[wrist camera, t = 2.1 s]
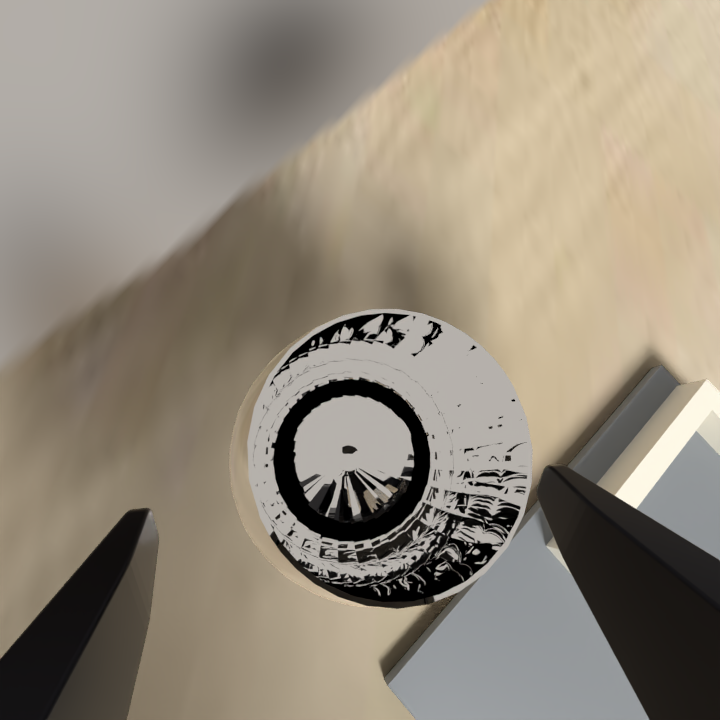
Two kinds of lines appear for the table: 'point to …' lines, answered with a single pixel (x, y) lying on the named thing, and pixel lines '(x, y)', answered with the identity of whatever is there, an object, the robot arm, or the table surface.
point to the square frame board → (569, 577)
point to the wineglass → (381, 460)
